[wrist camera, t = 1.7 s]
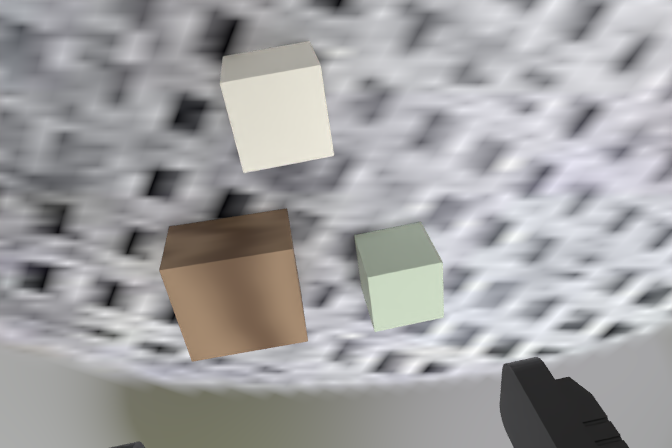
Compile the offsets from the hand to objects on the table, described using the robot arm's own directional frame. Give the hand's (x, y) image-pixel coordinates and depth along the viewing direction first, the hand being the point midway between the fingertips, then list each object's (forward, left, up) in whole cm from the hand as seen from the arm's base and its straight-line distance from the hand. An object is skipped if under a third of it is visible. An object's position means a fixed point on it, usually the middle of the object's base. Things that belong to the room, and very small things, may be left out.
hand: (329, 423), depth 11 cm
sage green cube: (+6, -14, -23) cm, 28 cm away
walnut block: (-5, -12, -23) cm, 27 cm away
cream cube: (0, 0, -23) cm, 23 cm away
